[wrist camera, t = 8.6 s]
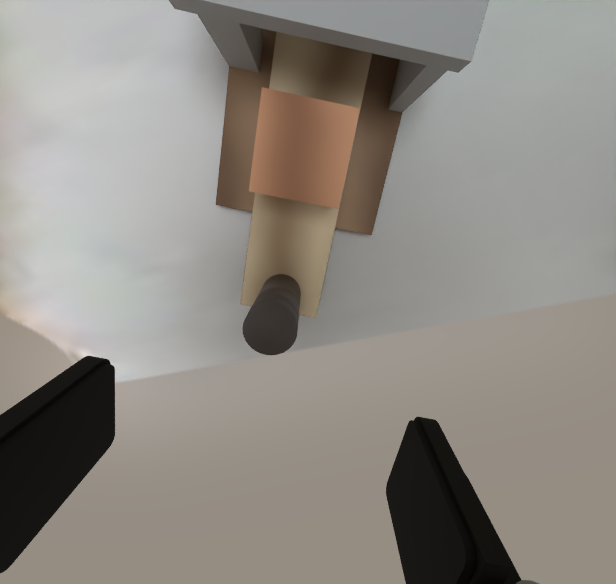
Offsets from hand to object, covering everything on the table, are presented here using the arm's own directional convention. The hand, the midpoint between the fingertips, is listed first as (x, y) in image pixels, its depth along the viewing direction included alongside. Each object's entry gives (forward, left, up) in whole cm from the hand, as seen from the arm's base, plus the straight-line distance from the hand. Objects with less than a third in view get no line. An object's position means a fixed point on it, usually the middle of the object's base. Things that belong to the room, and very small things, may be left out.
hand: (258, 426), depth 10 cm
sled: (+1, -9, -16) cm, 18 cm away
